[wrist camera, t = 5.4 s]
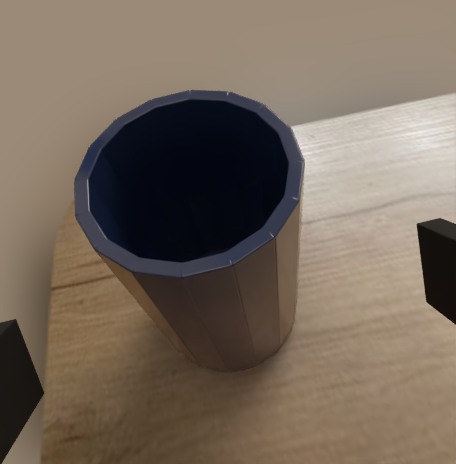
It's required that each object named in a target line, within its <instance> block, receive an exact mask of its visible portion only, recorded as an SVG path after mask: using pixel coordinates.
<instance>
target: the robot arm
mask: <svg viewBox="0 0 456 464" xmlns="http://www.w3.org/2000/svg"><path fill="white" fill-rule="evenodd" d="M417 231H418V239H419V246H420V254H421V262H422V270H423V278H424V286H425V294H426V302H427V303H428V304H430V305H431V306H432V307H434V308H435V309H436V310H437V311H439V312H440V313H441V314H443V315H444V316H445V317H447V318H448V319H449V320H450V321H452V322H453V323H454V324H456V224H454V223H452V222H449V221H446V220H444V219H441V218H439V219H434V220H430V221H426V222H422V223H418V224H417ZM43 394H44V391H43V389H42V386H41V383H40V381H39V378H38V375H37V373H36V370H35V368H34V365H33V362H32V360H31V357H30V354H29V352H28V349H27V347H26V344H25V341H24V339H23V336H22V334H21V331H20V328H19V326H18V323H17V320H16V319H14V320H10V321H6V322H2V323H0V464H2V462H3V460H4V459H5V457H6V455H7V454H8V452H9V450H10V449H11V447H12V445H13V443H14V442H15V441H16V439H17V437H18V435H19V434H20V432H21V431H22V429H23V427H24V425H25V424H26V422H27V421H28V419H29V417H30V416H31V414H32V412H33V411H34V409H35V408H36V406H37V404H38V403H39V401H40V399H41V398H42V396H43Z"/></svg>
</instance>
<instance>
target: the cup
mask: <svg viewBox="0 0 456 464" xmlns="http://www.w3.org/2000/svg"><path fill="white" fill-rule="evenodd" d="M304 169H305V163H304V158H303V155H302V153H301V150H300V148H299V145H298V143H297V140H296V138H295V135H294V133H293V130H292V129H291V128H290V126H289V125H287V124H286V123H285V122H284V121H283V120H282V119H281V118H279V117H278V116H277V115H276V114H275V113H274V112H273V111H272V110H271V109H269V108H268V107H267V106H266V105H264V104H263V103H260V102H257V101H254V100H252V99H249V98H246V97H243V96H240V95H238V94H235V93H232V92H228V91H205V90H204V91H203V90H191V91H190V90H188V91H184V92H180V93H176V94H171V95H167V96H163V97H159V98H155V99H152V100H149V101H147V102H145V103H144V104H142V105H140V106H138V107H137V108H135V109H133V110H131V111H129V112H127V113H126V114H124V115H122V116H120V117H118V118H117V119H116V120H114V121H113V123H112V124H111V125H110V126H109V127H108V128H107V129H106V130H105V131H104V132H103V133H102V134H101V135H100V136H99V137H98V138H97V139H96V140H95V141H94V142H93V143H92V144H91V145H90V147H89V148H88V150H87V153H86V155H85V157H84V159H83V162H82V164H81V166H80V169H79V171H78V173H77V175H76V177H75V181H74V193H75V217H76V220H77V221H78V223H79V225H80V227H81V228H82V230H83V232H84V233H85V235H86V237H87V238H88V240H89V242H90V243H91V245H92V247H93V249H94V250H95V251H96V252H97V253H98V255H99V256H100V257H101V258H102V260H103V261H104V262H105V263H106V264H107V266H108V267H109V268H110V269H111V271H112V272H113V273H114V274H115V275H116V277H117V278H118V279H119V280H120V281H121V283H122V284H123V285H124V286H125V288H126V289H127V290H128V291H129V292H130V294H131V295H132V296H133V297H134V298H135V300H136V301H137V302H138V303H139V305H140V306H141V307H142V308H143V309H144V311H145V312H146V313H147V314H148V316H149V317H150V318H151V319H152V320H153V322H154V323H155V324H156V325H157V326H158V328H159V329H160V330H161V331H162V333H163V334H164V335H165V336H166V337H167V339H168V340H169V341H170V342H171V344H172V345H173V346H174V347H175V348H176V350H177V351H178V352H180V353H181V354H183V355H184V356H185V357H186V358H187V359H189V360H190V361H191V362H193V363H195V364H197V365H198V366H201V367H203V368H206V369H209V370H213V371H220V372H235V371H241V370H245V369H249V368H252V367H254V366H256V365H258V364H261V363H262V362H264V361H265V360H267V359H268V358H270V357H271V356H272V355H273V354H274V353H276V352H277V351H278V349H279V348H280V347H281V346H282V345H283V343H284V342H285V340H286V339H287V337H288V335H289V333H290V331H291V329H292V326H293V324H294V319H295V312H296V302H297V289H298V272H299V254H300V237H301V220H302V203H303V186H304Z"/></svg>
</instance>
